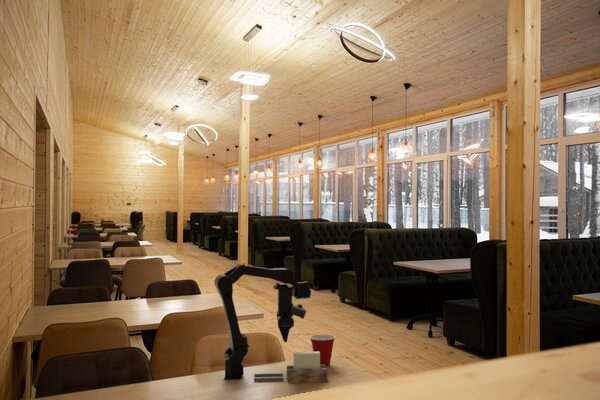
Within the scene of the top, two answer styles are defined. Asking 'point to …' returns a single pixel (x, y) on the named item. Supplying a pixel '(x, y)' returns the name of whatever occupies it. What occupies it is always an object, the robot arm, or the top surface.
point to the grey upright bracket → (268, 377)
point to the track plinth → (306, 374)
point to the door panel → (306, 360)
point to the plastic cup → (323, 347)
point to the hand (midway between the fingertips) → (284, 338)
